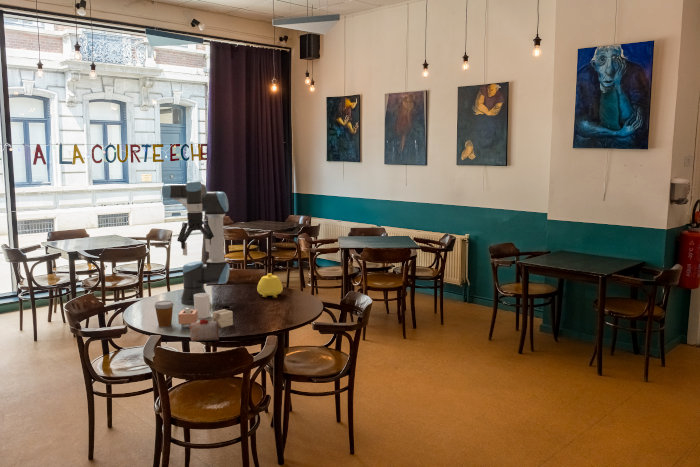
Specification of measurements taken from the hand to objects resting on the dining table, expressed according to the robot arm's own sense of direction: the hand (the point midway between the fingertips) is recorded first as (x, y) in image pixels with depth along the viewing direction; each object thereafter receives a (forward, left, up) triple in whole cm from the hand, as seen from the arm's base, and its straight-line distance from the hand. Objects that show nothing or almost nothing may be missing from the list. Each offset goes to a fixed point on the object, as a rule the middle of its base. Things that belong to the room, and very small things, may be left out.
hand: (196, 253), depth 309 cm
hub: (+2, -8, -37) cm, 38 cm away
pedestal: (+12, +6, -37) cm, 39 cm away
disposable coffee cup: (-10, -14, -37) cm, 41 cm away
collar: (+2, -8, -34) cm, 35 cm away
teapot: (-18, +64, -37) cm, 76 cm away
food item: (+24, -14, -37) cm, 46 cm away
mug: (-11, +9, -37) cm, 40 cm away
